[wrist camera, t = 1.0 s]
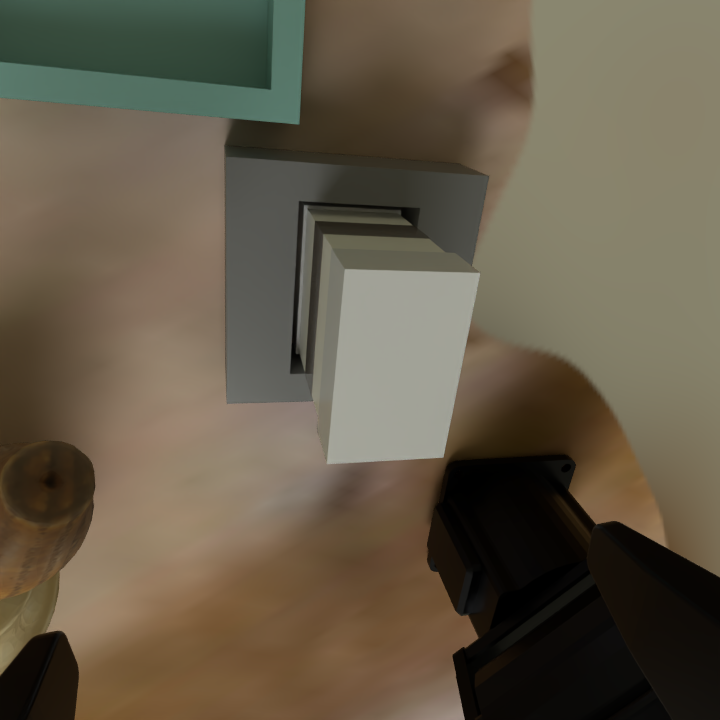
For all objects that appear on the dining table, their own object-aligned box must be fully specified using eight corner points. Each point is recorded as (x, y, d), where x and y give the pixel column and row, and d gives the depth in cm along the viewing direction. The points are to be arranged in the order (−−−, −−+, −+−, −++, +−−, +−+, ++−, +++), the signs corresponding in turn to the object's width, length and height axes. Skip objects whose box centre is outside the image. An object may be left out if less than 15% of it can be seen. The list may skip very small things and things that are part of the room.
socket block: (459, 163, 20) (489, 176, 18) (425, 366, 23) (446, 397, 21) (224, 145, 18) (225, 156, 16) (225, 369, 22) (226, 403, 19)
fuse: (388, 200, 20) (480, 273, 13) (372, 334, 22) (443, 457, 15) (297, 194, 19) (344, 269, 12) (290, 335, 22) (326, 464, 15)
